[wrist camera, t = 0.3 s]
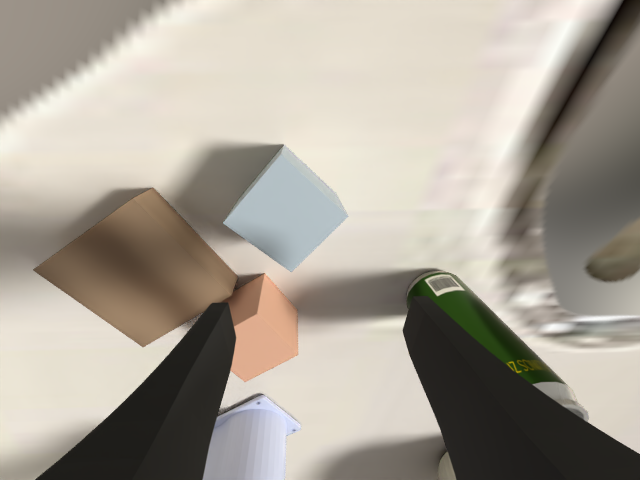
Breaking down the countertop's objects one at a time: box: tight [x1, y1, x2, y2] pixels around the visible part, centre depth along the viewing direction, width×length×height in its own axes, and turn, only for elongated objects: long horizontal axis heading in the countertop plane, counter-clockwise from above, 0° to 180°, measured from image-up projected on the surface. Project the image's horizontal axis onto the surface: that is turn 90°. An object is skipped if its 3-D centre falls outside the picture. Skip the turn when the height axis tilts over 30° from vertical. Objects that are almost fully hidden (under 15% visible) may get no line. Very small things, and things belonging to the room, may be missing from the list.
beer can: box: [407, 271, 589, 422], centre depth 19 cm, size 5×5×12 cm
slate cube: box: [223, 145, 348, 272], centre depth 17 cm, size 5×5×5 cm
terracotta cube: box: [220, 273, 298, 382], centre depth 21 cm, size 5×5×5 cm
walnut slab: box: [33, 188, 238, 347], centre depth 19 cm, size 9×9×2 cm
